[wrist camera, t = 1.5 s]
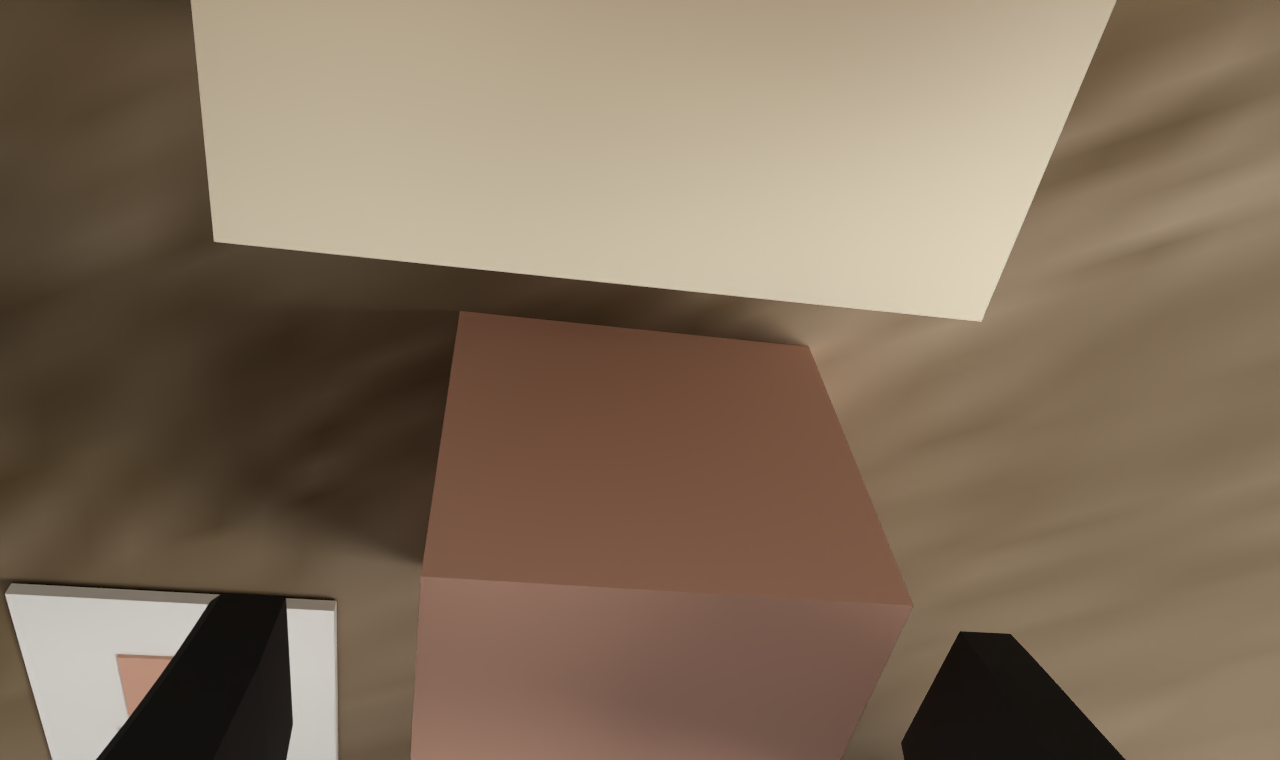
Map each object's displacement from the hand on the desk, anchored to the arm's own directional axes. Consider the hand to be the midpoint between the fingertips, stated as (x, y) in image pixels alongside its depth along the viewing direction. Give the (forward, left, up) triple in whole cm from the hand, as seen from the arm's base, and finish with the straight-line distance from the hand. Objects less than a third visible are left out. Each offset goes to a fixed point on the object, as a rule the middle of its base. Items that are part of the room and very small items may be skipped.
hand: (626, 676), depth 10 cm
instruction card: (-6, +6, -4) cm, 9 cm away
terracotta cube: (0, 0, -4) cm, 4 cm away
